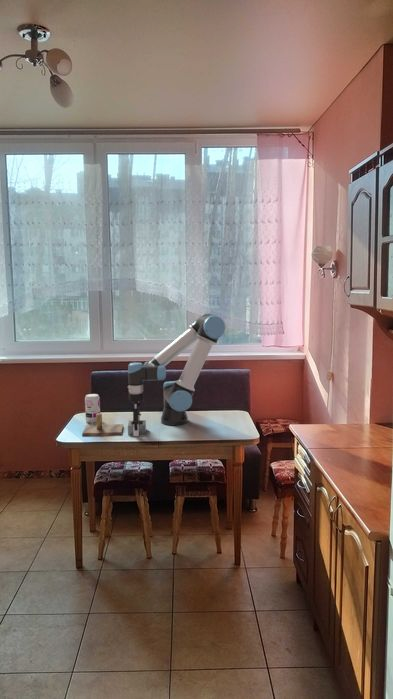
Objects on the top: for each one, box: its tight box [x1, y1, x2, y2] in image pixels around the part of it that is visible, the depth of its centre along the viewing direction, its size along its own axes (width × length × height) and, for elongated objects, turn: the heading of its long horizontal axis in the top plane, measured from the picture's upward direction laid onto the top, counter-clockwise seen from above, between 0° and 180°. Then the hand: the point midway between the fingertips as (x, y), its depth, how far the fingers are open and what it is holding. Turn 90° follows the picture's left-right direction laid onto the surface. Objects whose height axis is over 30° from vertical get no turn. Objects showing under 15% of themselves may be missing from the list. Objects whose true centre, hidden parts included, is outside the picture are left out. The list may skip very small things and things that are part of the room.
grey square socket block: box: [127, 419, 147, 436], centre depth 263 cm, size 9×9×5 cm
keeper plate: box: [81, 412, 124, 437], centre depth 265 cm, size 20×14×10 cm
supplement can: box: [84, 393, 101, 424], centre depth 283 cm, size 8×8×15 cm
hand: (136, 431), depth 263 cm, fingers open, 13 cm apart
